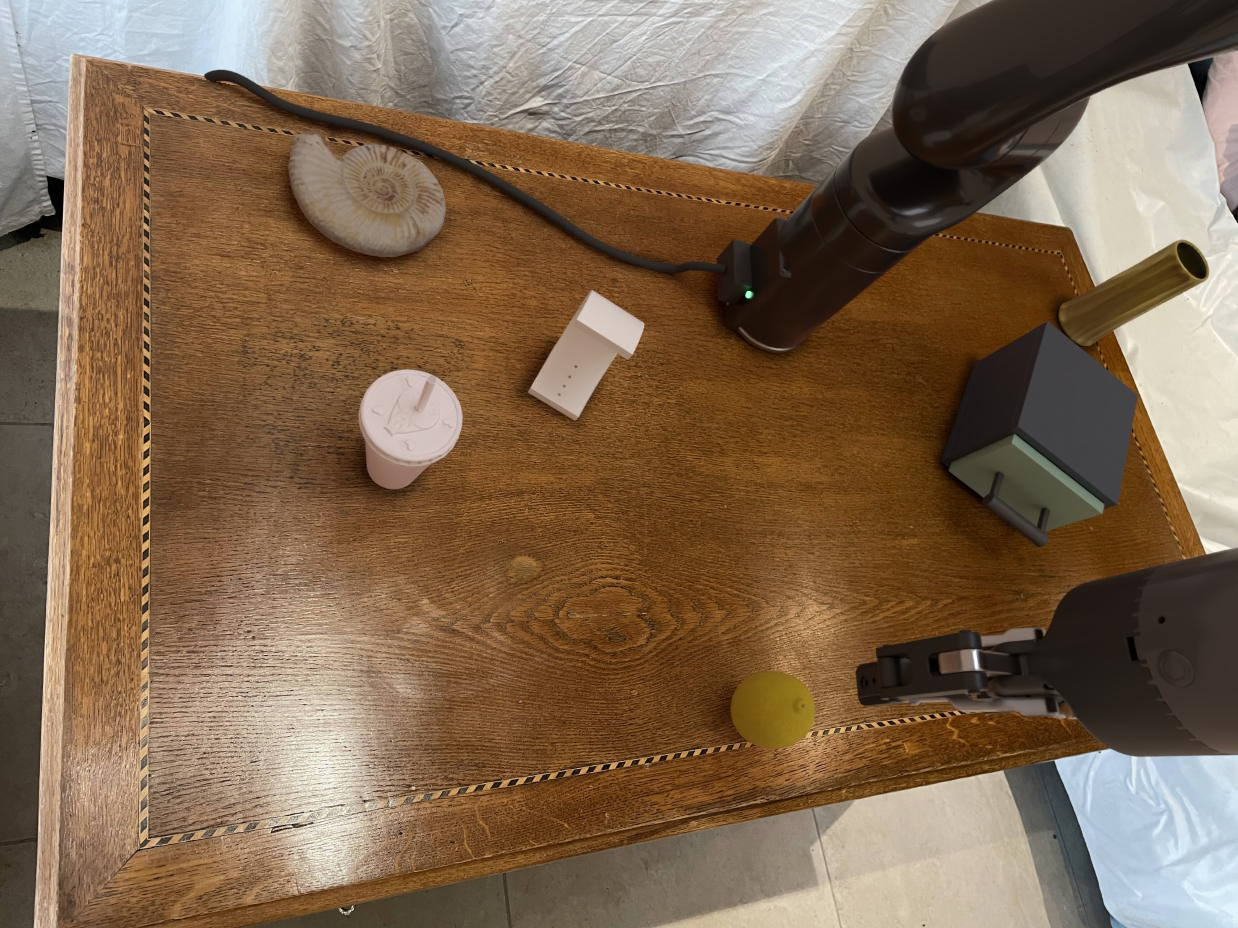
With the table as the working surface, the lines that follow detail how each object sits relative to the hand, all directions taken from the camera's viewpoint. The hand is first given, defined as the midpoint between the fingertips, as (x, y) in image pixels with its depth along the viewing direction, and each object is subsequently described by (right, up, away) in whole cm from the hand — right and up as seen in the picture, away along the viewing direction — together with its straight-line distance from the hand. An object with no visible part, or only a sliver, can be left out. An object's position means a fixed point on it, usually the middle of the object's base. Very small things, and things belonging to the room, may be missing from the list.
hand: (923, 690), depth 45 cm
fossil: (-38, +34, +20) cm, 54 cm away
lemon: (-8, -7, +17) cm, 20 cm away
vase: (+39, +30, +52) cm, 71 cm away
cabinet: (+24, +15, +39) cm, 48 cm away
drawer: (+22, +12, +37) cm, 45 cm away
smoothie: (-34, +13, +13) cm, 39 cm away
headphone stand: (-22, +20, +21) cm, 36 cm away
